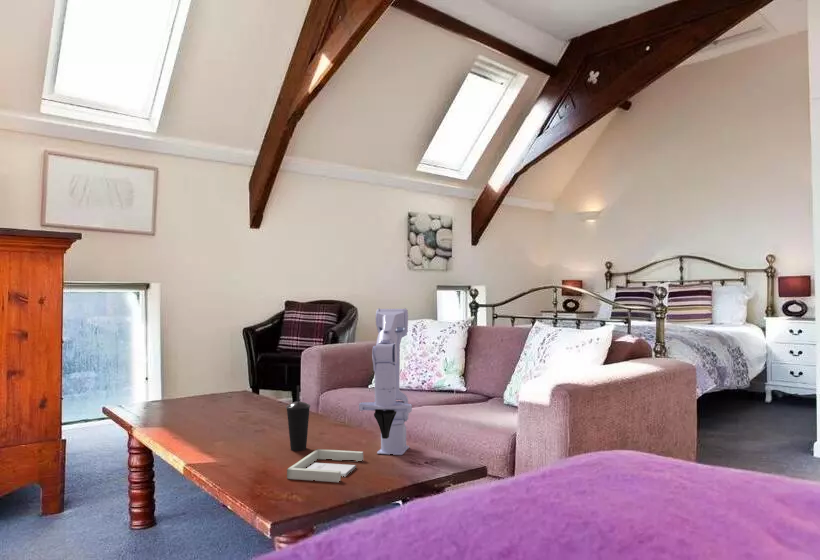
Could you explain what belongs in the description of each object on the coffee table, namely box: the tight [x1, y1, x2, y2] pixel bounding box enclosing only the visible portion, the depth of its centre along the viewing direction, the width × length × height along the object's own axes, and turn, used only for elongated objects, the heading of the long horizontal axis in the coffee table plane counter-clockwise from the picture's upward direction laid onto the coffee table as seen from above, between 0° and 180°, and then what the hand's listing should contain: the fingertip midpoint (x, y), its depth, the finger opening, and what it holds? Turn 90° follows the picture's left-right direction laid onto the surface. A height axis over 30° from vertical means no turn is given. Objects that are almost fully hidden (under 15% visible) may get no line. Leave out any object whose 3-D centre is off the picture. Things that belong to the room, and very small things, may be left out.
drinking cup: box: [285, 384, 311, 452], centre depth 188 cm, size 8×8×20 cm
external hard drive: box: [305, 462, 357, 478], centre depth 164 cm, size 2×8×12 cm
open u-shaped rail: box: [286, 448, 364, 483], centre depth 166 cm, size 20×14×2 cm
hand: (385, 437), depth 162 cm, fingers closed
